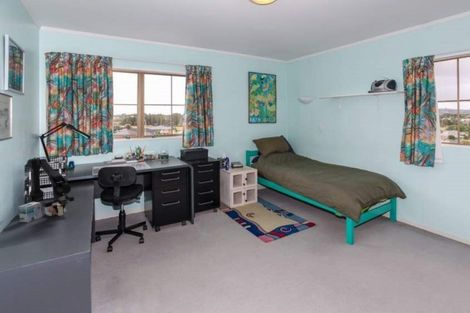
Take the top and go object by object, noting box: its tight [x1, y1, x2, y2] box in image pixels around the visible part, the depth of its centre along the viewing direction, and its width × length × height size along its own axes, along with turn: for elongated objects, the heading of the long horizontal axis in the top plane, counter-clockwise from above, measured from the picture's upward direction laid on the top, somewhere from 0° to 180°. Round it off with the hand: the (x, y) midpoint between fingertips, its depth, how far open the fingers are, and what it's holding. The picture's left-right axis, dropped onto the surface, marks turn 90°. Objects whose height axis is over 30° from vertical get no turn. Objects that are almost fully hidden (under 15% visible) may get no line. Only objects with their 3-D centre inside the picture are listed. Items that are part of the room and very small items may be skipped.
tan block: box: [44, 207, 67, 217], centre depth 195 cm, size 7×10×5 cm
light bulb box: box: [18, 201, 43, 223], centre depth 183 cm, size 11×7×11 cm, turn 168°
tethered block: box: [49, 203, 64, 217], centre depth 193 cm, size 11×6×6 cm, turn 56°
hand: (60, 212), depth 191 cm, fingers closed on tethered block, 3 cm apart
